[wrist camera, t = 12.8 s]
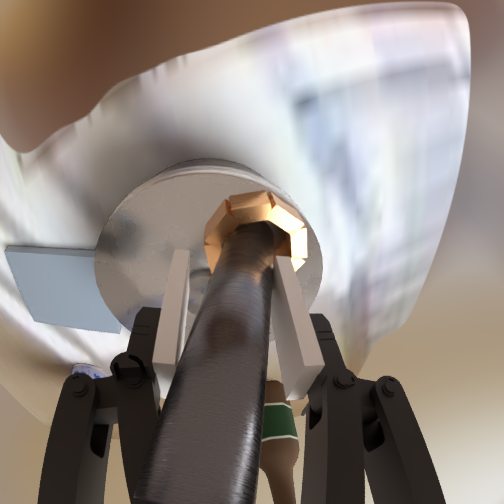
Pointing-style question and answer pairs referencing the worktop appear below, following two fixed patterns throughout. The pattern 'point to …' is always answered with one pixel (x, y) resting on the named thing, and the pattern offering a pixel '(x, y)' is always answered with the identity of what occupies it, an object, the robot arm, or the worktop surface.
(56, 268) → the plate
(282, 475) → the beer bottle
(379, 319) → the worktop surface
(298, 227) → the disc
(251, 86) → the worktop surface
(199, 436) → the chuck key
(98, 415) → the robot arm
